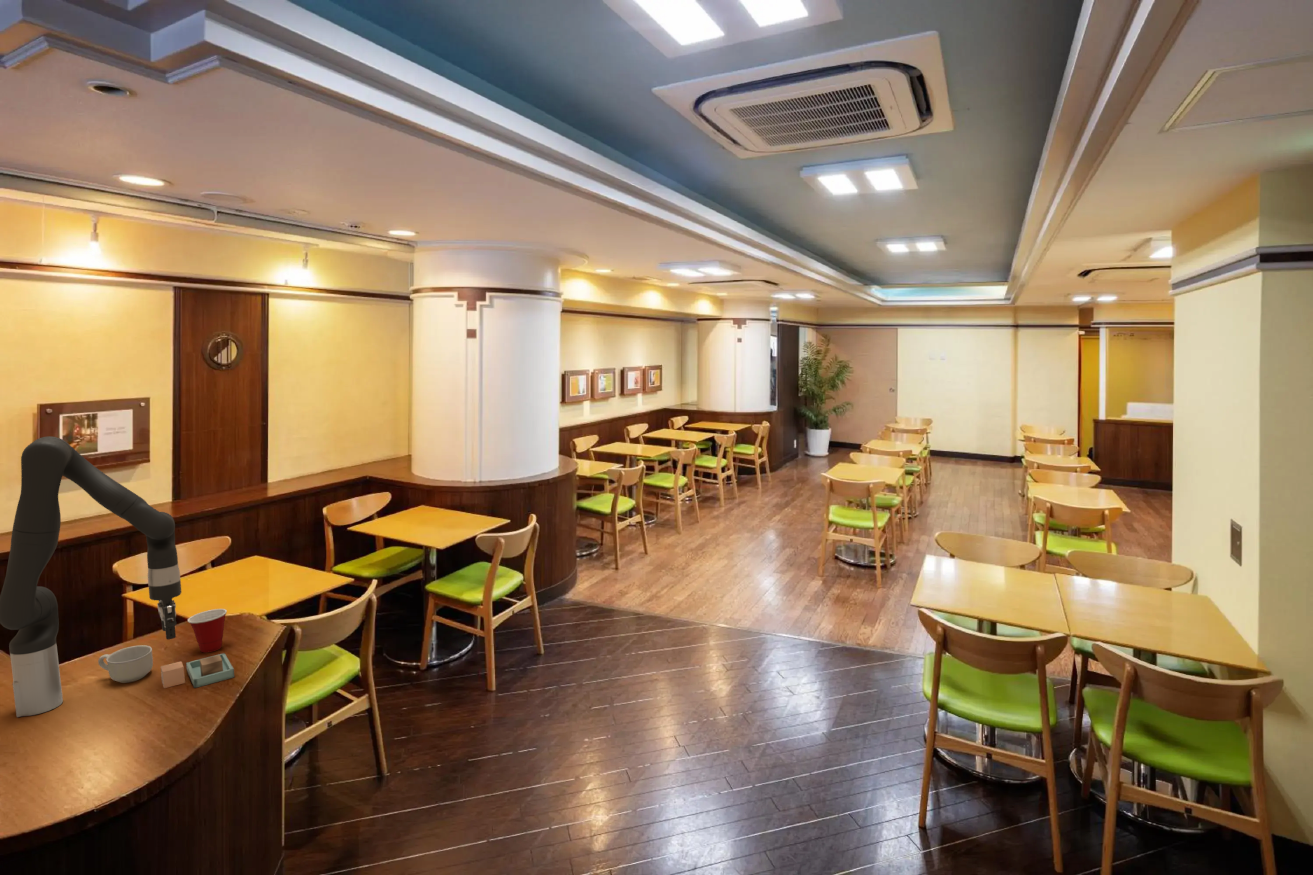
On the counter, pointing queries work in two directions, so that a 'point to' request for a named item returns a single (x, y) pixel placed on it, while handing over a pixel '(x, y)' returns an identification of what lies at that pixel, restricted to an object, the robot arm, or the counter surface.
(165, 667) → the terracotta cube
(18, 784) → the counter surface
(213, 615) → the plastic cup
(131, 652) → the teacup
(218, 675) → the tray
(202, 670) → the walnut cube
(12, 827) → the counter surface
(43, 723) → the counter surface
